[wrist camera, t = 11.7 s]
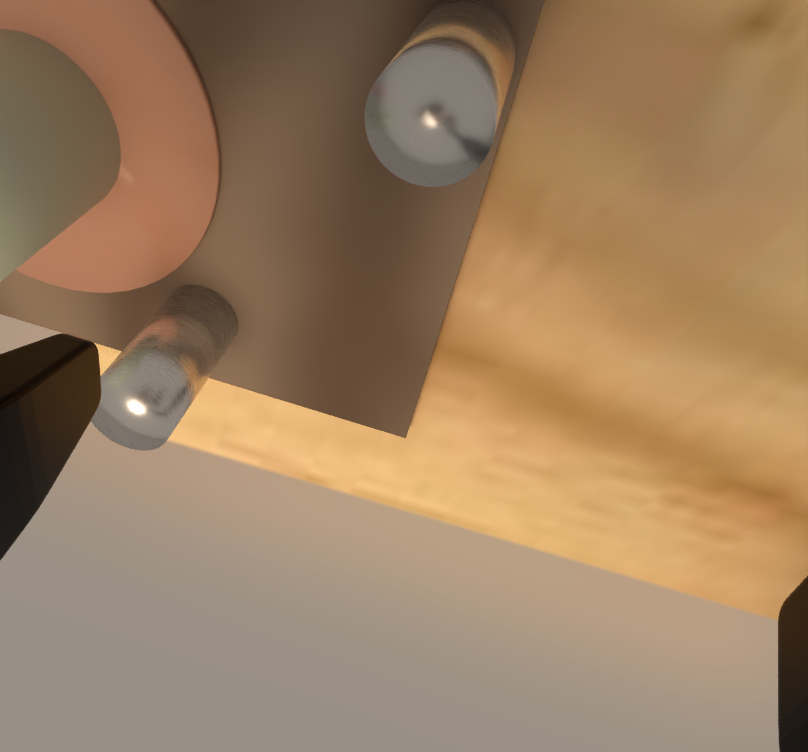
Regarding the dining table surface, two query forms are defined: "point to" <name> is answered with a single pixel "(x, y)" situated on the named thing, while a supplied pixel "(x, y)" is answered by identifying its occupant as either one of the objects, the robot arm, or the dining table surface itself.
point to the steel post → (395, 148)
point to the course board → (259, 194)
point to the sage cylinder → (48, 146)
